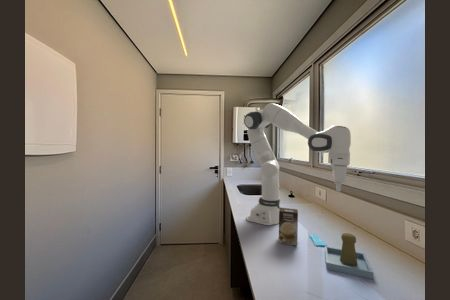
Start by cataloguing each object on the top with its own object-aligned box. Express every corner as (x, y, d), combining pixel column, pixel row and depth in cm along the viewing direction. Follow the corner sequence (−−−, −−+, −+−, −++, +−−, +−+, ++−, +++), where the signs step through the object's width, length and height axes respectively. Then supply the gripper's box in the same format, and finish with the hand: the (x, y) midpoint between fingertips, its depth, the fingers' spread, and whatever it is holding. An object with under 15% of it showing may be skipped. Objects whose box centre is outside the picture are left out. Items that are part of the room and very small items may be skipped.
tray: (326, 268, 78) (326, 262, 77) (324, 251, 90) (324, 246, 90) (373, 279, 71) (373, 272, 71) (364, 259, 84) (364, 253, 84)
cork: (336, 258, 83) (336, 232, 83) (347, 256, 85) (348, 230, 85) (349, 266, 77) (349, 237, 78) (361, 264, 79) (361, 236, 79)
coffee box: (278, 243, 98) (278, 210, 98) (279, 237, 104) (279, 207, 104) (297, 246, 95) (297, 212, 95) (297, 240, 101) (297, 208, 101)
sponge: (320, 235, 106) (308, 233, 107) (328, 246, 94) (315, 244, 95) (319, 237, 106) (308, 235, 107) (328, 249, 94) (315, 247, 95)
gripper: (330, 158, 104) (328, 184, 104) (332, 161, 86) (331, 192, 86) (343, 159, 101) (342, 186, 102) (349, 162, 83) (348, 194, 83)
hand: (337, 189), depth 94 cm, fingers open, 8 cm apart
